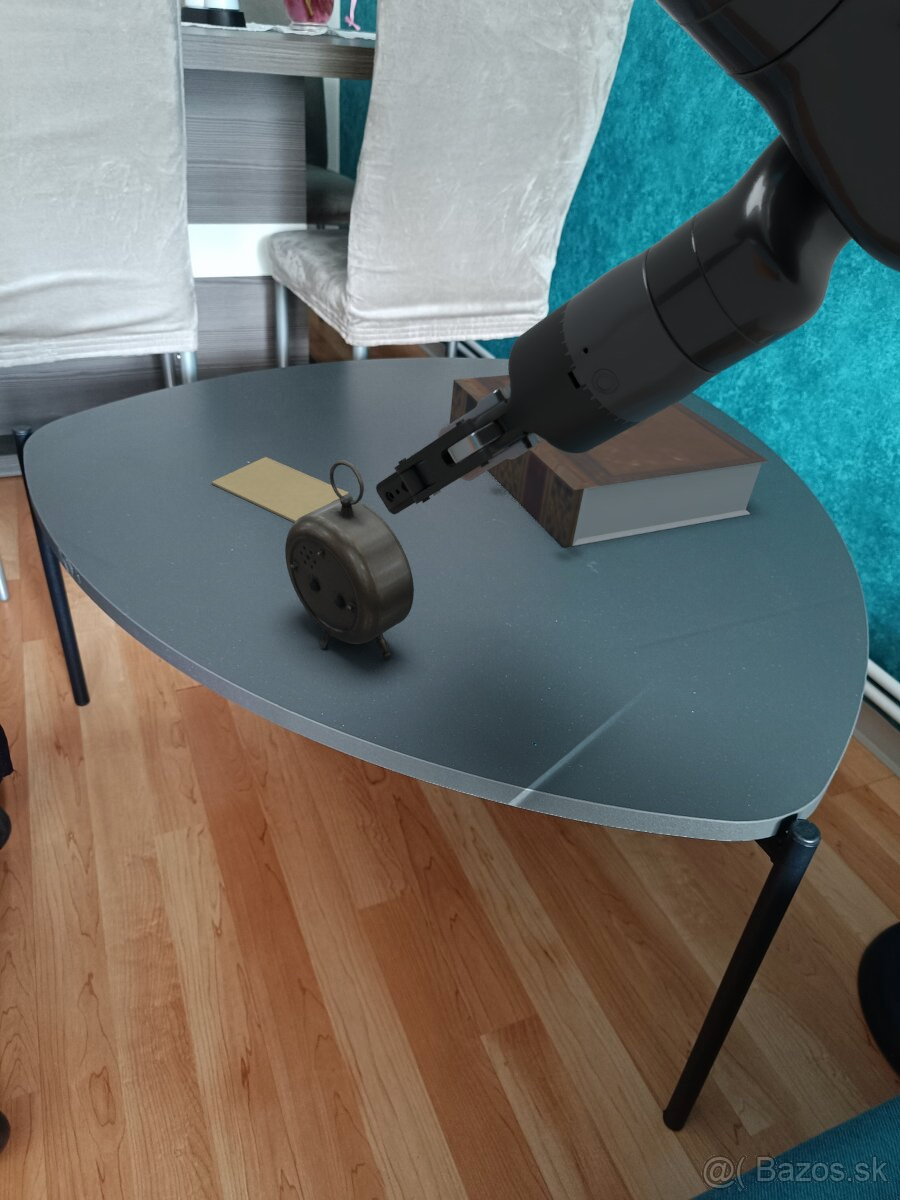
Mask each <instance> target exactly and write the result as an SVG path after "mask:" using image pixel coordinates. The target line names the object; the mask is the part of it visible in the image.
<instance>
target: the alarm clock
mask: <svg viewBox="0 0 900 1200" xmlns="http://www.w3.org/2000/svg"><path fill="white" fill-rule="evenodd" d="M339 466H346V467H347V468H349V469H350V470H351V471H352V472H353V474H354V475H355V477H356V479H357V482H358V486H359V494H358V496H357V498H356V499H354V498H353V496H351V495H350V494H349V495H344V496H342V495H341V494H340V493H339V491H338V490H337V488H338V487H337V485H336V483H335V478H334V476H335V470H336V469H337V467H339ZM329 480H330V485H332V488H333V490H334V492H335V493H336V495H337V496H338V497H339V498H340V499H337V500H335V501H333V502H331V503H330V504H327V505H325V506H323V507H321V508H319V509H317V510H315V511H312V512H310V513H308V514H306V515H304V516H302V517H300V518H299V519H297V520H296V521H295V522H293V523H292V524H291V526H290V529H289V530H288V533H287V536H286V540H285V547H284V553H285V563H286V568H287V573H288V576H289V578H290V583H291V584H292V587H293V589H294V591H295V594H296V596H297V598H298V599H299V601H300V603H301V604H302V606H303V608H304V609H305V611H306V612H307V613H308V614H309V616H310V617H311V618H312V619H313V621H314V622H315V623H316V624H317V625H318V626H319V627H320V628H321V629H322V633H321V638H320V641H319V648H320V649H321V650H324V649H325V648H326V647H327V644H328V642H329V640H330V637H334V638H335V639H336V640H337V639H338V640H340V641H342V642H345V643H348V644H353V645H354V644H355V645H361V644H366V643H369V642H371V641H372V640H375V642H376V644H377V646H378V647H379V648H380V650H381V651H382V657H383V658H384V659H385V660H389V659H390V658H391V657H392V653H391V652H390V651H389V647H388V642H387V640H386V638H385V636H384V634H383V633H386V632H387V631H389V630H390V629H392V628H393V627H395V626H397V625H398V624H401V623H402V622H403V621H404V620H406V618H407V617H408V616H409V614H410V612H411V610H412V608H413V602H414V596H415V595H414V594H415V585H414V584H415V583H414V577H413V573H412V569H411V566H410V562H409V560H408V556H407V555H406V553H405V550H404V548H403V546H402V544H401V542H400V540H399V539H398V537H397V536H396V534H395V533H394V531H393V530H392V529H391V527H390V526H389V525H388V523H387V522H386V521H385V519H384V518H382V517H381V516H380V515H379V514H378V513H377V512H376V511H375V510H373V509H372V508H370V507H369V506H368V505H366V504H364V503H362V502H360V501H361V500H362V499H363V495H364V492H365V485H364V481H363V478H362V475H361V473H360V471H359V470H358V469H357V467H356V466H355V465H354V464H353V463H351V462H349V461H347V460H342V459H341V460H337V461H335V462H334V463H333V464H332V465H331V467H330V470H329ZM336 487H337V488H336Z"/></svg>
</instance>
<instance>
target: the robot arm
mask: <svg viewBox="0 0 900 1200" xmlns="http://www.w3.org/2000/svg"><path fill="white" fill-rule="evenodd" d="M654 1H655V2H656V3H657V4H658V5H659V6H660V7H661V8H662V10H664V12H666V13H667V15H668V16H669V17H670V18H671V19H672V20H673V21H674V23H676V24H677V25H678V26H679V27H680V28H681V29H682V30H683V31H684V32H685V33H686V34H687V35H688V36H689V38H691V40H693V41H694V42H695V43H696V44H697V45H698V47H700V49H702V51H704V52H705V54H707V56H708V57H709V58H710V59H711V60H712V61H713V62H714V63H715V64H716V65H717V66H718V67H719V68H720V69H721V70H723V71H724V73H725V74H726V75H727V76H728V77H729V78H730V79H732V80H733V81H734V82H735V83H736V84H737V85H738V86H739V87H741V88H742V89H743V90H744V91H745V92H747V93H748V94H749V95H750V96H752V98H753V99H754V100H755V101H756V102H757V104H759V106H760V107H761V108H762V110H763V111H764V112H765V114H766V115H767V116H768V117H769V119H770V120H771V122H772V123H773V125H774V126H775V128H776V129H777V131H778V133H779V134H778V135H777V136H776V137H775V138H774V139H773V140H772V141H771V143H770V144H768V145H767V146H766V148H765V149H764V150H763V151H762V152H761V154H759V156H758V157H757V158H756V160H754V162H753V163H752V164H751V165H750V166H749V168H748V169H747V170H746V171H745V173H743V174H742V176H741V177H740V179H739V180H738V181H736V183H735V184H734V185H733V186H732V187H731V188H730V189H729V190H728V191H727V192H725V194H723V195H722V196H720V197H719V198H717V199H715V200H714V201H712V202H711V203H710V204H708V205H707V206H705V207H704V208H702V209H701V210H700V211H699V212H697V213H696V214H694V215H693V216H692V217H690V218H689V219H687V220H686V221H685V222H683V223H682V224H680V226H678V227H676V228H675V229H674V230H672V231H671V232H670V233H668V234H666V235H665V236H664V237H663V238H662V239H660V240H659V241H657V242H656V243H655V244H653V245H651V246H650V247H648V248H646V249H645V250H643V251H642V252H640V253H639V254H636V255H635V256H633V257H631V258H629V259H626V260H625V261H623V262H622V263H620V264H618V265H616V266H615V267H613V268H611V269H610V270H608V271H607V272H605V273H604V274H602V275H601V276H599V277H598V278H597V279H596V280H594V281H593V282H591V283H590V284H589V285H588V286H586V287H585V288H584V289H582V290H581V291H580V292H578V293H576V294H575V295H574V296H572V297H571V298H569V299H568V300H567V301H566V302H564V303H563V304H562V305H560V306H559V307H557V308H556V309H555V310H553V311H552V312H550V313H549V314H548V315H547V316H545V317H544V318H543V319H541V320H540V321H538V322H537V323H535V324H534V325H533V326H531V327H530V328H528V329H527V330H526V331H524V332H523V333H522V334H521V335H520V336H518V337H517V338H516V340H515V341H514V342H513V344H512V346H511V349H510V352H509V356H508V365H507V367H508V368H507V369H508V375H509V378H510V384H508V385H507V386H506V387H505V388H503V389H501V388H498V389H497V390H495V391H493V392H492V393H490V394H488V395H487V396H485V397H484V398H482V399H481V400H479V402H478V403H477V406H476V408H474V409H473V410H471V411H470V412H468V413H467V414H465V415H463V416H462V417H460V418H459V419H457V420H455V421H454V422H452V423H451V424H450V423H449V424H447V425H446V426H444V427H443V428H441V429H440V430H439V431H438V434H437V438H436V439H435V440H433V441H432V442H430V443H429V444H427V445H426V446H424V447H423V448H421V449H420V450H418V451H416V452H415V453H413V454H411V455H410V456H409V457H408V458H406V457H404V458H402V459H401V460H399V461H398V462H397V463H398V464H397V465H396V466H395V467H394V470H395V471H394V472H393V473H392V474H390V475H389V476H387V477H386V478H384V479H382V480H381V481H379V482H378V483H377V484H376V485H375V490H376V493H377V495H378V497H379V498H380V500H381V501H382V503H383V504H384V506H385V508H386V509H387V511H388V512H389V513H390V514H392V515H397V514H399V513H401V512H402V511H404V510H405V509H407V508H409V507H411V506H412V505H413V504H415V505H417V504H419V503H421V502H422V504H424V503H426V502H428V501H429V500H431V496H433V497H435V496H437V495H439V494H440V493H441V492H442V489H444V488H445V487H447V486H449V485H450V484H452V483H454V482H456V481H457V480H459V479H462V480H464V481H466V482H467V481H468V482H469V481H473V480H474V479H476V478H477V477H480V476H481V475H482V474H484V473H486V472H487V471H488V470H489V469H491V468H492V467H494V466H496V465H497V464H499V463H500V462H502V461H504V460H505V459H511V460H512V459H515V458H517V457H519V456H520V455H522V454H523V453H525V452H527V451H528V450H530V449H532V448H533V447H535V445H536V444H538V443H540V442H541V441H543V440H546V441H547V442H548V443H549V444H551V445H552V446H554V447H555V448H557V449H559V450H562V451H565V452H568V453H584V452H587V451H589V450H591V449H593V448H595V447H597V446H598V445H600V444H602V443H604V442H606V441H607V440H609V439H611V438H613V437H615V436H616V435H618V434H620V433H622V432H624V431H625V430H627V429H629V428H631V427H633V426H635V425H637V424H638V423H640V422H642V421H644V420H645V419H647V418H649V417H651V416H653V415H655V414H656V413H658V412H660V411H662V410H664V409H666V408H667V407H669V406H671V405H673V404H675V403H677V402H680V401H682V400H683V399H685V398H687V397H688V396H689V395H691V394H693V392H695V391H697V390H698V389H699V388H701V386H703V385H704V384H706V383H707V382H708V381H710V380H711V379H713V378H714V377H716V376H718V375H719V374H721V373H722V372H723V371H725V370H728V369H730V368H731V367H733V366H735V365H737V364H738V363H740V362H742V361H744V360H747V358H749V357H751V356H753V355H755V354H756V353H758V352H760V351H762V350H765V348H767V347H769V346H771V345H772V344H774V343H777V342H778V341H780V340H781V339H784V338H785V337H787V336H788V335H790V334H791V333H793V332H795V331H796V330H798V329H800V328H801V327H803V326H804V325H805V324H807V322H809V321H810V320H811V319H812V318H813V317H814V316H815V315H816V314H817V313H818V311H819V310H820V308H821V307H822V305H823V304H824V301H825V298H826V295H827V291H828V287H829V282H830V278H831V274H832V270H833V267H834V264H835V262H836V259H838V256H839V254H840V253H841V251H842V250H843V249H844V248H845V247H846V246H847V245H848V243H850V242H851V240H853V241H854V242H855V243H856V244H857V245H858V246H859V248H861V250H863V251H864V252H865V253H866V254H867V255H868V256H870V257H871V258H872V259H874V260H875V261H877V262H878V263H879V264H881V265H883V266H885V267H886V268H889V269H891V270H892V271H894V272H897V273H900V0H654ZM478 417H479V418H478ZM477 418H478V419H477ZM475 419H477V420H475ZM474 420H475V421H474ZM473 421H474V422H473ZM507 446H508V448H506V449H505V450H503V451H501V452H500V453H498V454H497V455H495V456H493V454H495V453H497V452H499V451H500V450H502V449H504V448H505V447H507Z"/></svg>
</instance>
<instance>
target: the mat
mask: <svg viewBox="0 0 900 1200" xmlns="http://www.w3.org/2000/svg"><path fill="white" fill-rule="evenodd" d="M211 485H213V486H214V487H217V488H219V489H221V490H224V491H226V492H227V493H230V494H232V495H234V496H236V497H238V498H241V499H243V500H245V501H247V502H249V503H251V504H254V505H255V506H258V507H260V508H262V509H264V510H266V511H269V512H271V513H272V514H275V515H277V516H279V517H282V518H284V519H286V520H287V521H289V522H292V523H294V522H295V521H296V520H297V519H299V518H300V517H302V516H304V515H306V514H308V513H310V512H312V511H315V510H317V509H319V508H321V507H323V506H325V505H327V504H330V503H331V502H333V501H335V500H337V499H340V498H339V497H338V496H337V495H336V493H335V492H334V490H333V488H332V485H331V483H327V482H325V481H323V480H320V479H318V478H315V477H313V476H311V475H309V474H306V473H304V472H303V471H299V470H297V469H294V468H292V467H291V466H288V465H285V464H283V463H281V462H278V461H276V460H274V459H272V458H269V457H268V456H264V457H262V458H260V459H258V460H256V461H254V462H251V463H249V464H247V465H244V466H243V467H240V468H238V469H237V470H234V471H232V472H230V473H227V474H225V475H223V476H221V477H219V478H216V479H215V480H212V481H211ZM336 488H337V490H338V491H339V493H340V494H341V495H342V496H344V495H350V492H349V491H346V490H344V489H341V488H339V487H337V486H336Z"/></svg>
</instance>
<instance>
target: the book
mask: <svg viewBox="0 0 900 1200" xmlns="http://www.w3.org/2000/svg"><path fill="white" fill-rule="evenodd" d="M508 384H510V378H509V374H504V375H491V376H481V377H480V376H479V377H468V378H455V379H453V384H452V394H451V405H450V416H449V424H451V423H452V422H454V421H455V420H457V419H459V418H460V417H462V416H463V415H465V414H467V413H468V412H470V411H471V410H473V409H474V408H476V406H477V403H478V402H479V400H481V399H482V398H484V397H485V396H487V395H488V394H490V393H492V392H493V391H495V390H497V389H498V388H501V389H503V388H505V387H506V386H507V385H508ZM478 418H479V417H478ZM478 418H477V419H478ZM477 419H475V420H477ZM475 420H474V421H475ZM474 421H473V422H474ZM506 448H508V446H507V447H505V448H504V449H502V450H500V451H499V452H497V453H495V454H493V456H495V455H497V454H498V453H500V452H501V451H503V450H505V449H506ZM768 462H769V460H768V459H767V458H765V457H763V456H762V455H761V454H759V453H758V452H757V451H754V450H753V449H752V448H750V447H749V446H747V445H745V444H744V443H742V442H741V441H740V440H738V439H737V438H735V437H734V436H732V435H730V434H728V432H725V431H724V430H723V429H722V428H720V427H718V426H717V425H715V424H714V423H712V422H710V421H709V420H708V419H705V418H704V417H702V416H701V415H700V414H698V413H696V412H695V411H693V410H692V409H690V408H689V407H687V406H686V405H684V404H683V403H681V402H680V401H678V402H677V403H675V404H673V405H671V406H669V407H667V408H666V409H664V410H662V411H660V412H658V413H656V414H655V415H653V416H651V417H649V418H647V419H645V420H644V421H642V422H640V423H638V424H637V425H635V426H633V427H631V428H629V429H627V430H625V431H624V432H622V433H620V434H618V435H616V436H615V437H613V438H611V439H609V440H607V441H606V442H604V443H602V444H600V445H598V446H597V447H595V448H593V449H591V450H589V451H587V452H584V453H568V452H565V451H562V450H559V449H557V448H555V447H554V446H552V445H551V444H549V443H548V442H547V441H546V440H543V441H541V442H540V443H538V444H536V445H535V447H533V448H532V449H530V450H528V451H527V452H525V453H523V454H522V455H520V456H519V457H517V458H515V459H512V460H511V459H505V460H504V461H502V462H500V463H499V464H497V465H496V466H494V467H492V468H491V469H489V470H487V471H488V472H489V473H490V474H491V475H492V476H493V477H494V478H495V480H497V482H499V483H500V485H501V486H502V487H504V489H505V490H506V491H507V492H508V493H509V494H510V495H511V496H512V497H513V498H514V499H515V500H516V501H517V502H518V503H519V504H520V505H521V506H522V507H523V508H524V509H525V510H526V511H527V513H529V514H530V516H531V517H532V518H533V519H534V520H535V521H536V522H537V523H538V524H539V525H540V527H542V528H543V529H544V530H545V531H546V532H547V533H548V534H549V535H550V536H551V537H552V538H553V539H554V540H555V541H556V543H558V545H559V546H561V548H569V547H573V546H574V547H575V546H580V545H586V544H591V543H597V542H602V541H609V540H614V539H620V538H625V537H630V536H637V535H641V534H648V533H653V532H658V531H664V530H671V529H675V528H681V527H687V526H693V525H698V524H703V523H709V522H715V521H720V520H726V519H730V518H736V517H742V516H749V515H751V513H750V512H749V511H748V510H747V508H748V505H749V502H750V498H751V496H752V493H753V490H754V488H755V484H756V481H757V478H758V476H759V473H760V471H761V467H762V465H763V464H766V463H768Z"/></svg>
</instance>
